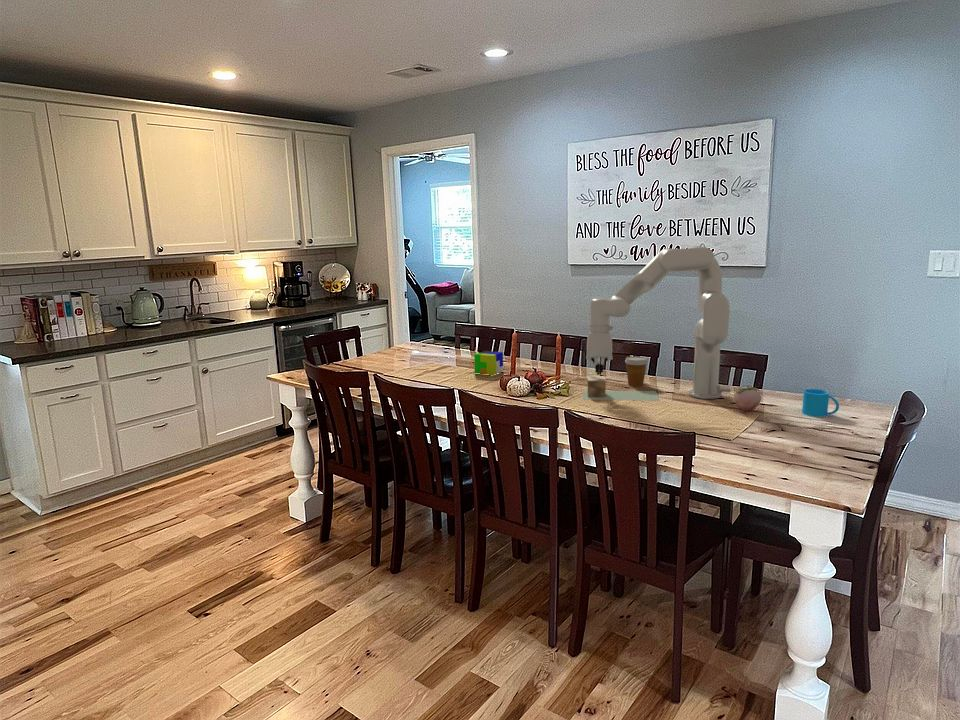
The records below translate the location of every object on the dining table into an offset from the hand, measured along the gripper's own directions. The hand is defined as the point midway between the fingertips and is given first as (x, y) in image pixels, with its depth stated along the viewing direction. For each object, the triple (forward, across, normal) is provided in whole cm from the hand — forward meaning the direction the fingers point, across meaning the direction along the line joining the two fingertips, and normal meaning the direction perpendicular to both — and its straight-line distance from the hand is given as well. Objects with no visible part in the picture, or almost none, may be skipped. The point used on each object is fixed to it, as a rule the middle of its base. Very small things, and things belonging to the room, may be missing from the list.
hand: (599, 373), depth 261 cm
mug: (+10, -78, +22) cm, 81 cm away
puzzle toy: (+10, +50, -40) cm, 65 cm away
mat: (+9, -8, 0) cm, 13 cm away
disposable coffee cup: (+10, -16, -19) cm, 27 cm away
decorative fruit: (+10, -52, +20) cm, 57 cm away
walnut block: (+2, +1, 0) cm, 2 cm away
